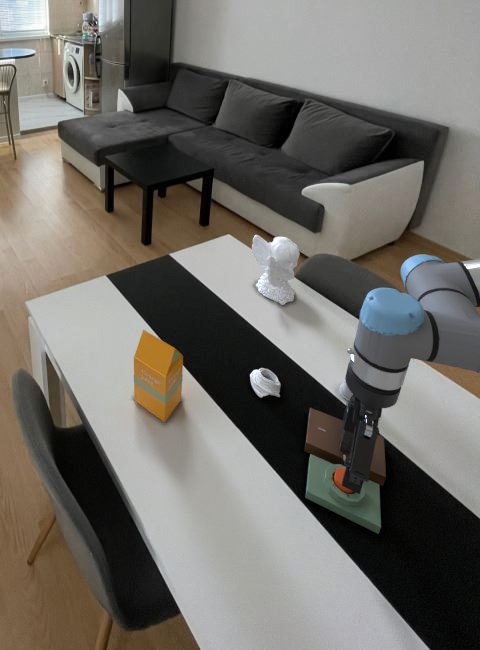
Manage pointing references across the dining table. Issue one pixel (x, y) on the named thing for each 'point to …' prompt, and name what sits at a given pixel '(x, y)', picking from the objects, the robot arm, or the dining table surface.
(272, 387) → the white folded cloth ring
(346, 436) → the red-tipped grey box
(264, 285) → the cherub figurine
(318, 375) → the dining table surface
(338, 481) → the button
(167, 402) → the orange juice
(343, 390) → the rook chess piece
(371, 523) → the button block
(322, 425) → the panel
